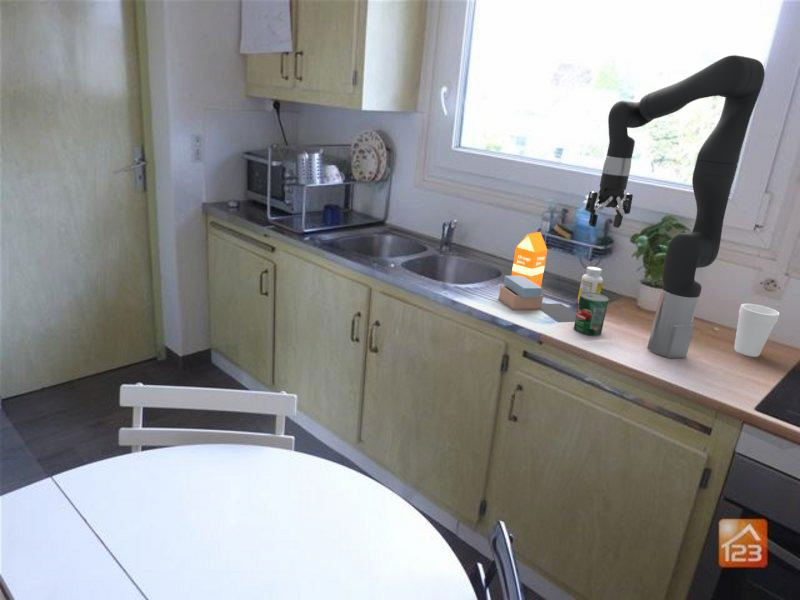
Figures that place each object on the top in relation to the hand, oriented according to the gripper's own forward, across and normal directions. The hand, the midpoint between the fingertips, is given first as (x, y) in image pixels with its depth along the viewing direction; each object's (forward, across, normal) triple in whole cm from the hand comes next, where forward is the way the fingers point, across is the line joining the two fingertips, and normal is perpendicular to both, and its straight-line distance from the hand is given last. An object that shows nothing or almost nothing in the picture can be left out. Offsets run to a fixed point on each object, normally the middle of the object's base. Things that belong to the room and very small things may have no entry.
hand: (604, 226), depth 173 cm
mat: (+28, -10, 0) cm, 30 cm away
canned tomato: (+28, -10, -15) cm, 34 cm away
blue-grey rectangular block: (+23, -20, +8) cm, 32 cm away
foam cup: (+28, +31, -33) cm, 53 cm away
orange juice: (+28, -8, +26) cm, 39 cm away
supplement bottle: (+28, +5, +7) cm, 30 cm away
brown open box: (+28, -20, +8) cm, 35 cm away
